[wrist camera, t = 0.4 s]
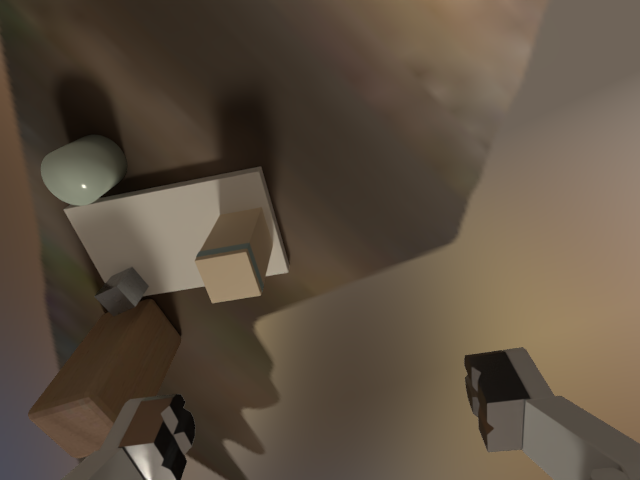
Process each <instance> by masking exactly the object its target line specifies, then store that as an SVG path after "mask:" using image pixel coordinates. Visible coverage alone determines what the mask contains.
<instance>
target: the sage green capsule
mask: <svg viewBox="0 0 640 480" xmlns="http://www.w3.org/2000/svg"><path fill="white" fill-rule="evenodd" d="M126 172H127V161H126V157H125V155H124V153H123V151H122V150H121V149H120V147H119V146H118V145H117V144H116V143H114V142H113V141H112V140H110V139H108V138H106V137H104V136H101V135H87V136H84V137H82V138H80V139H78V140H76V141H74V142H72V143H70V144H67V145H65V146H63V147H61V148H59V149H57V150H55V151H53V152H51V153H49V154H48V155H47V156H46V157H45V158H44V159H43V162H42V165H41V175H42V178H43V181H44V183H45V185H46V186H47V188H48V189H49V190H50V191H51V192H52V194H54V195H55V196H56V197H57V198H59V199H60V200H62V201H64V202H66V203H69V204H72V205H78V206H83V205H88V204H91V203H93V202H94V201H96V200H97V199H98V198H99V197H101V196H102V195H103V194H105V193H106V192H107V191H108V190H110V189H111V188H112V187H114V186H115V185H116V184H117V183H119V182H120V181H121V180H122V179H123V178H124V177H125V175H126Z"/></svg>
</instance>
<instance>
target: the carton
mask: <svg viewBox="0 0 640 480" xmlns="http://www.w3.org/2000/svg"><path fill="white" fill-rule="evenodd" d="M272 248H273V243H272V239H271V236H270V233H269V229H268V226H267V223H266V219H265V216H264V213H263V209H262V207H260V208H255V209H249V210H244V211H239V212H233V213H228V214H222V215H220V216H219V218H218V219H217V221H216V223H215V225H214V227H213V228H212V230H211V232H210V234H209V236H208V237H207V239H206V241H205V243H204V245H203V246H202V248H201V250H200V251H199V252H198V254H197V256H196V259H195V263H196V266H197V268H198V271H199V273H200V275H201V278H202V280H203V282H204V285H205V287H206V290H207V292H208V294H209V297H210V299H211V302H212V303H217V302H223V301H229V300H235V299H242V298H248V297H254V296H261V293H262V291H263V287H264V281H265V276H266V272H267V268H268V264H269V260H270V256H271V252H272Z"/></svg>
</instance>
